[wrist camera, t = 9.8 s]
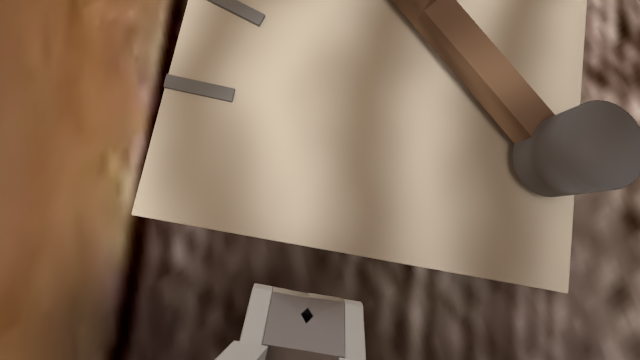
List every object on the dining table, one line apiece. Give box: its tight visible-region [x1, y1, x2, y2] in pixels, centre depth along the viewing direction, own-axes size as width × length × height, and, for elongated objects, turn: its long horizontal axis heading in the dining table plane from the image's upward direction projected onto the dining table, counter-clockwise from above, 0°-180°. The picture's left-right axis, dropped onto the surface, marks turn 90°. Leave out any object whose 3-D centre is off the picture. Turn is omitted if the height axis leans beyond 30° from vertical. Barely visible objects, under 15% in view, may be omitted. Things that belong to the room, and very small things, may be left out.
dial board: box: [131, 0, 587, 293], centre depth 18 cm, size 20×20×1 cm
